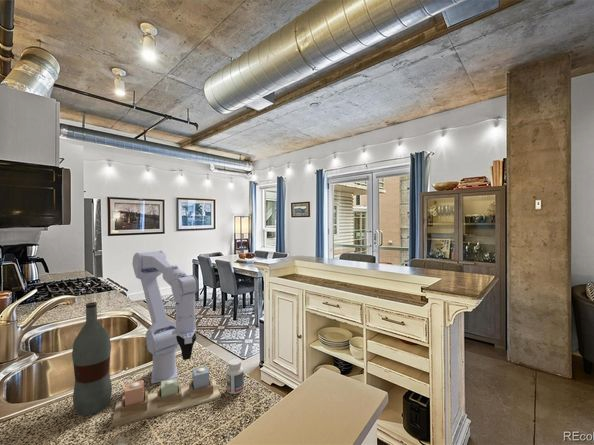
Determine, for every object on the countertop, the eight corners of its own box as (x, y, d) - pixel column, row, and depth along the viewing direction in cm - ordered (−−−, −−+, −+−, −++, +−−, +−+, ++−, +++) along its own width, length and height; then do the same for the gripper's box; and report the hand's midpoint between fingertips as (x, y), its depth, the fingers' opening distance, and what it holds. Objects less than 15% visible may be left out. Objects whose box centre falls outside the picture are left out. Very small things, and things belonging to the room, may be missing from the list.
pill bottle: (245, 385, 94) (245, 358, 94) (241, 394, 89) (240, 366, 89) (229, 384, 95) (229, 357, 95) (224, 394, 90) (223, 365, 90)
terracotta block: (126, 399, 84) (126, 382, 84) (143, 395, 86) (143, 379, 86) (125, 408, 80) (124, 391, 80) (143, 403, 82) (142, 386, 82)
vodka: (117, 395, 89) (116, 298, 89) (102, 415, 80) (101, 307, 80) (84, 398, 88) (82, 299, 88) (65, 419, 79) (63, 309, 79)
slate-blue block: (192, 383, 91) (192, 368, 91) (207, 379, 93) (207, 365, 93) (194, 390, 88) (194, 375, 87) (209, 386, 89) (209, 371, 89)
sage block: (161, 396, 88) (160, 380, 88) (176, 392, 90) (176, 377, 89) (161, 404, 84) (161, 388, 84) (177, 400, 86) (177, 384, 85)
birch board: (116, 403, 85) (116, 393, 85) (214, 380, 98) (214, 371, 98) (111, 427, 76) (111, 416, 76) (220, 398, 88) (220, 388, 88)
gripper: (170, 311, 96) (171, 352, 96) (173, 324, 83) (174, 372, 83) (193, 307, 99) (194, 347, 99) (198, 320, 86) (200, 366, 86)
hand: (186, 358), depth 91 cm, fingers closed
